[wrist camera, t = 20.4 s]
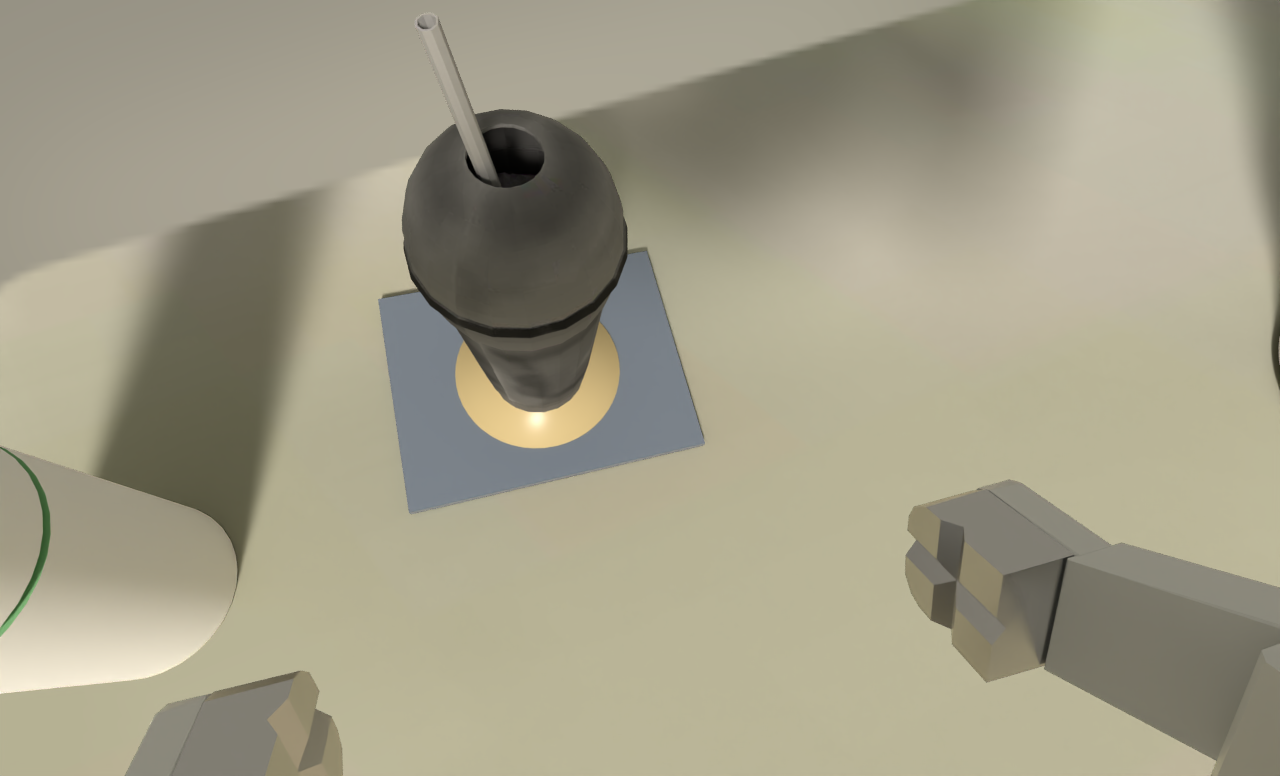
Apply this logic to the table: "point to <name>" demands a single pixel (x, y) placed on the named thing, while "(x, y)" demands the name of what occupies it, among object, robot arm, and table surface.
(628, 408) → the card
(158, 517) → the cylindrical container
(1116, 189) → the table surface
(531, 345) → the beverage cup
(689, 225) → the table surface
